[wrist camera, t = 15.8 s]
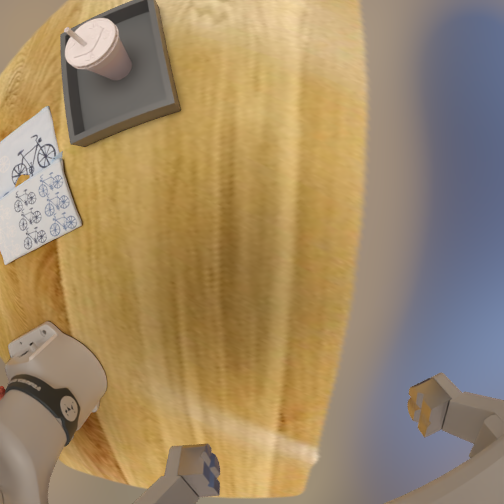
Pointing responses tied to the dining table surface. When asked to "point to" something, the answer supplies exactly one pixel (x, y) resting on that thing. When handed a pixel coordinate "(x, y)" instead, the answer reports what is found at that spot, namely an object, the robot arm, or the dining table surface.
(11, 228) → the folded bicycle print cloth
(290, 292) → the dining table surface
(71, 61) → the smoothie
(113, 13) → the tray
